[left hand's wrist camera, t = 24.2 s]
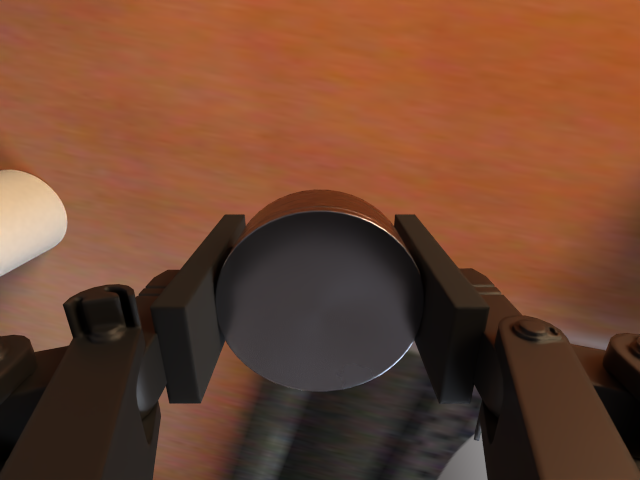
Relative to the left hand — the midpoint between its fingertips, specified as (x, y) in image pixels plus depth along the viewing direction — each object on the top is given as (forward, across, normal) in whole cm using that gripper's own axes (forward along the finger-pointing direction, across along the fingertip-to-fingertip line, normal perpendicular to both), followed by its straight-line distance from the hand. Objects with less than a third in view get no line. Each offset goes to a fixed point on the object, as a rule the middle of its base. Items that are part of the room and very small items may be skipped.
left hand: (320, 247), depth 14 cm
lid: (-4, 0, 0) cm, 4 cm away
